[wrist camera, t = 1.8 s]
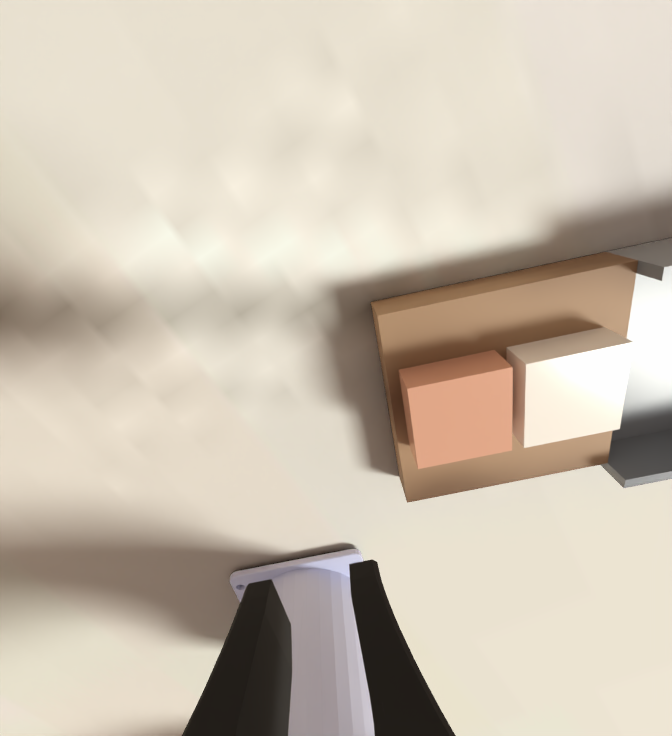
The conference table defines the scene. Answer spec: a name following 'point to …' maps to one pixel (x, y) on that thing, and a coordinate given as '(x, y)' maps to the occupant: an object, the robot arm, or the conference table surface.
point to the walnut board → (497, 332)
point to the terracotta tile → (458, 408)
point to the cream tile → (569, 385)
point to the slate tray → (647, 373)
